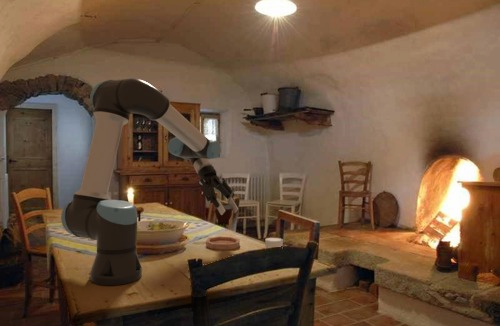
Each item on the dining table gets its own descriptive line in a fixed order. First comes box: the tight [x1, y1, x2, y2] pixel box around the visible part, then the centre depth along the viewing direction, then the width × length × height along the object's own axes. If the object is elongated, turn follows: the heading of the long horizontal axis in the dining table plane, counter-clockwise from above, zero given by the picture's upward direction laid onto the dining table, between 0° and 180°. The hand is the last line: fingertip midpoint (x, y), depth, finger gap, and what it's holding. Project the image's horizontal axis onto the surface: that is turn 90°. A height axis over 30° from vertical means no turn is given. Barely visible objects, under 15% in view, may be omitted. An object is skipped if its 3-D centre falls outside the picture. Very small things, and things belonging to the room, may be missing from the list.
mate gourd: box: [214, 187, 239, 226], centre depth 161 cm, size 8×8×15 cm
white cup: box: [265, 237, 284, 249], centre depth 145 cm, size 7×7×7 cm
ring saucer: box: [205, 235, 241, 251], centre depth 161 cm, size 14×14×2 cm
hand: (229, 211), depth 158 cm, fingers closed on mate gourd, 7 cm apart
